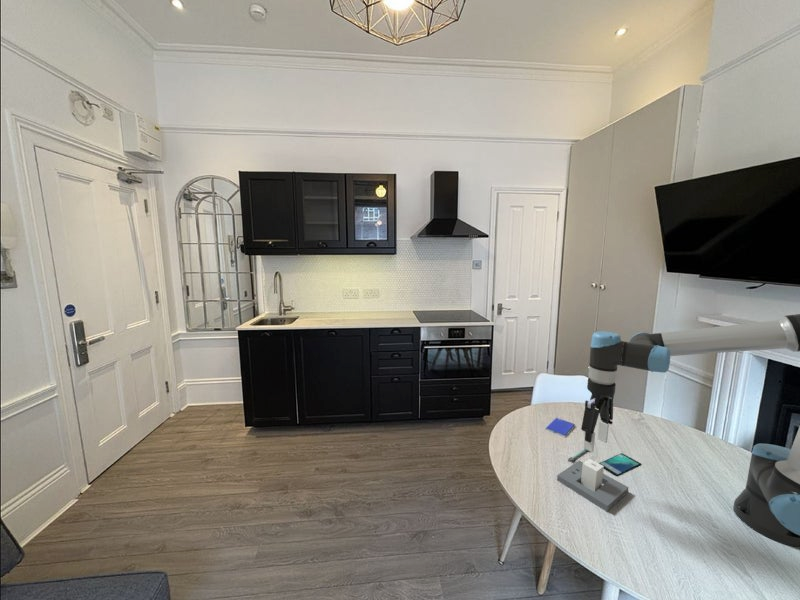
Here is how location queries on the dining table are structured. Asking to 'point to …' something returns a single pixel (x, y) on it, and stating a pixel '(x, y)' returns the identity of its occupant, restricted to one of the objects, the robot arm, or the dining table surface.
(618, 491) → the outlet plate
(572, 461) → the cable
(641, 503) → the dining table surface
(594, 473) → the charger
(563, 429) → the hard drive
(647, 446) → the dining table surface
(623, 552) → the dining table surface
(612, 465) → the smartphone
